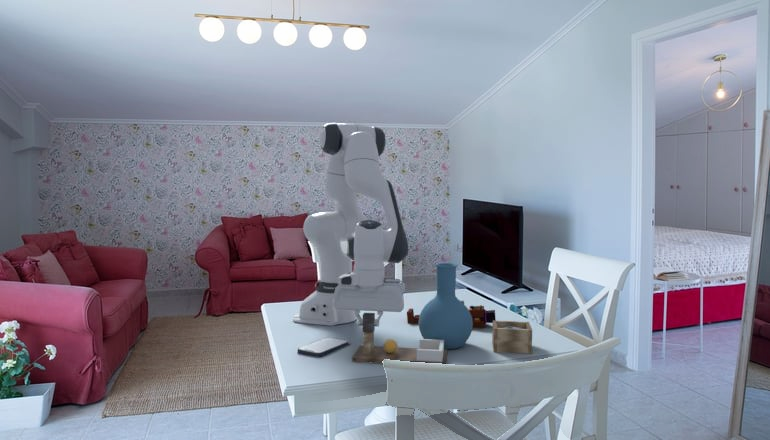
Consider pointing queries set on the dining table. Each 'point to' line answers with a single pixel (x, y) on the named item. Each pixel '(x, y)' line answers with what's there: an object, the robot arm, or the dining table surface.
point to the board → (391, 355)
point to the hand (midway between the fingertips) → (368, 325)
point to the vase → (446, 312)
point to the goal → (430, 350)
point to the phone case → (322, 347)
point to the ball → (390, 346)
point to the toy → (477, 313)
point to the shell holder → (512, 337)
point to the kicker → (368, 333)
